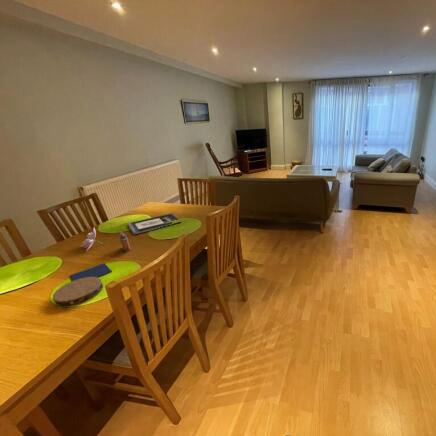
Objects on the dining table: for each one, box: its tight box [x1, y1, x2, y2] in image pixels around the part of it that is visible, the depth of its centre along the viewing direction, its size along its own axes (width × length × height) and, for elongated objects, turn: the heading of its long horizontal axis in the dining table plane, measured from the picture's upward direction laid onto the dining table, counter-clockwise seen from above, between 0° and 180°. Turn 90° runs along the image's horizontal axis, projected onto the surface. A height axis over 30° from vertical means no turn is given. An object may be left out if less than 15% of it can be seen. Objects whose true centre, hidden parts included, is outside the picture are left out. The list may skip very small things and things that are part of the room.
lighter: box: [119, 231, 132, 253], centre depth 137 cm, size 8×3×10 cm, turn 45°
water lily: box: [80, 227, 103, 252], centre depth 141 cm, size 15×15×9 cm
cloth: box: [69, 262, 113, 282], centre depth 116 cm, size 14×12×1 cm
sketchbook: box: [126, 213, 179, 235], centre depth 171 cm, size 22×30×2 cm
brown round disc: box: [52, 277, 104, 308], centre depth 102 cm, size 16×16×3 cm
